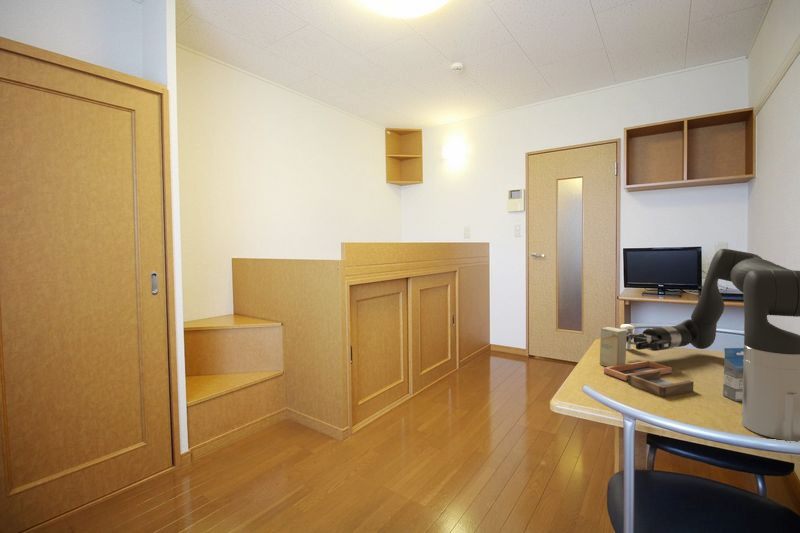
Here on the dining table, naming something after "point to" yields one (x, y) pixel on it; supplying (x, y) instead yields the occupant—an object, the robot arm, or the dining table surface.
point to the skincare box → (613, 346)
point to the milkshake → (629, 329)
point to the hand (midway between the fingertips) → (624, 343)
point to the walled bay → (659, 384)
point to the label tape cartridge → (733, 374)
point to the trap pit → (635, 369)
